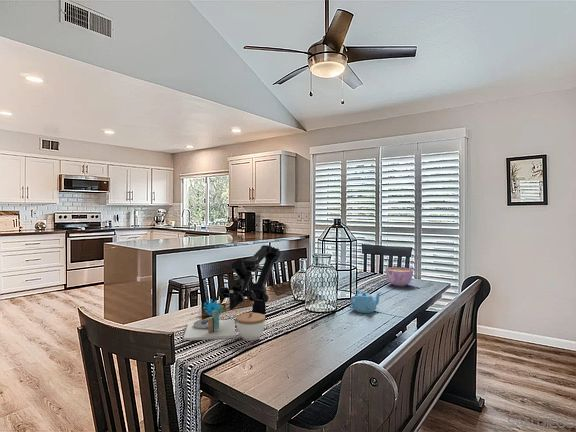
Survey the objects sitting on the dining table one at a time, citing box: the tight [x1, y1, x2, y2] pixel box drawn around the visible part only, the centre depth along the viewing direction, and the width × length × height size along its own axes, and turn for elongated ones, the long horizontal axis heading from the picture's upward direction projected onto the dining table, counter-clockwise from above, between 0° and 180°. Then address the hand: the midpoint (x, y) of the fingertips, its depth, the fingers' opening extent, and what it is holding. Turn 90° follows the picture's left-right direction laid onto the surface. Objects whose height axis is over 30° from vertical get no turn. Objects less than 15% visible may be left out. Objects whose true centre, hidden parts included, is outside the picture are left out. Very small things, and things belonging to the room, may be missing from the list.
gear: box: [202, 298, 225, 316], centre depth 192 cm, size 11×6×10 cm
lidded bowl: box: [235, 311, 266, 342], centre depth 156 cm, size 13×13×11 cm
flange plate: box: [194, 310, 220, 332], centre depth 166 cm, size 16×10×9 cm, turn 40°
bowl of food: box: [384, 266, 414, 287], centre depth 262 cm, size 20×20×12 cm
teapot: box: [349, 288, 382, 314], centre depth 198 cm, size 15×15×10 cm
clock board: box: [182, 317, 236, 342], centre depth 165 cm, size 22×22×7 cm
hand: (230, 309), depth 170 cm, fingers closed
